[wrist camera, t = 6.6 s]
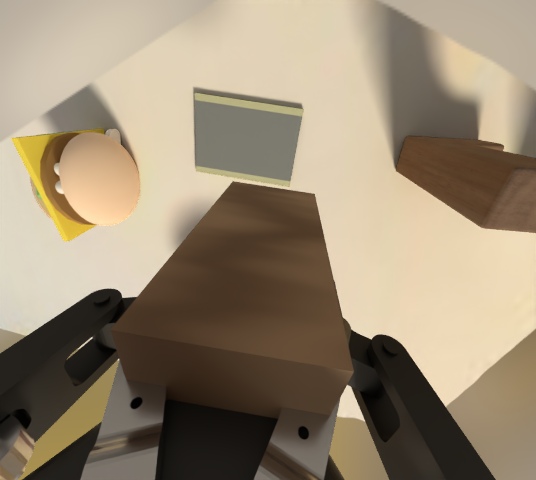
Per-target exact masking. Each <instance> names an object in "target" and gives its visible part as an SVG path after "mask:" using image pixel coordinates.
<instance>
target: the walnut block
mask: <svg viewBox="0 0 536 480" xmlns="http://www.w3.org/2000/svg"><path fill="white" fill-rule="evenodd" d="M110 331H111V334H112V337H113V340H114V343H115V347H116V350H117V353H118V356H119V359H120V363H121V366H122V369H123V372H124V375H125V378H126V379H127V380H133V381H139V382H144V383H150V384H156V385H161V386H166V388H167V394H168V399H170V400H175V401H181V402H187V403H192V404H198V405H203V406H209V407H215V408H220V409H226V410H232V411H237V412H243V413H248V414H254V415H260V416H265V417H271V418H277V419H279V416H280V414H281V411H282V409H283V407H286V408H292V409H297V410H303V411H309V412H314V413H320V414H326V415H331V414H332V412H333V410H334V408H335V406H336V405H337V403H338V401H339V399H340V397H341V395H342V393H343V391H344V389H345V388H346V386H347V384H348V382H349V380H350V378H351V376H352V374H353V372H354V370H353V365H352V361H351V356H350V352H349V347H348V343H347V338H346V334H345V329H344V325H343V320H342V316H341V311H340V307H339V302H338V298H337V293H336V289H335V284H334V280H333V275H332V270H331V266H330V261H329V257H328V252H327V248H326V243H325V239H324V234H323V230H322V225H321V221H320V216H319V212H318V207H317V203H316V198H315V194H311V193H305V192H298V191H292V190H285V189H279V188H272V187H266V186H259V185H253V184H246V183H240V182H232V183H231V184H230V186H229V187H228V188H227V189H226V190H225V192H224V193H223V194H222V195H221V197H220V198H219V199H218V200H217V201H216V203H215V204H214V205H213V206H212V207H211V209H210V210H209V211H208V212H207V213H206V215H205V216H204V217H203V218H202V219H201V221H200V222H199V223H198V224H197V226H196V227H195V228H194V229H193V230H192V232H191V233H190V234H189V235H188V236H187V238H186V239H185V240H184V241H183V242H182V244H181V245H180V246H179V247H178V248H177V250H176V251H175V252H174V253H173V255H172V256H171V257H170V258H169V259H168V261H167V262H166V263H165V264H164V265H163V267H162V268H161V269H160V270H159V271H158V273H157V274H156V275H155V276H154V278H153V279H152V280H151V281H150V282H149V284H148V285H147V286H146V287H145V288H144V290H143V291H142V292H141V293H140V294H139V296H138V297H137V298H136V299H135V300H134V302H133V303H132V304H131V305H130V307H129V308H128V309H127V310H126V311H125V313H124V314H123V315H122V316H121V317H120V319H119V320H118V321H117V322H116V323H115V325H114V326H113V327H112V328H111V329H110Z"/></svg>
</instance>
